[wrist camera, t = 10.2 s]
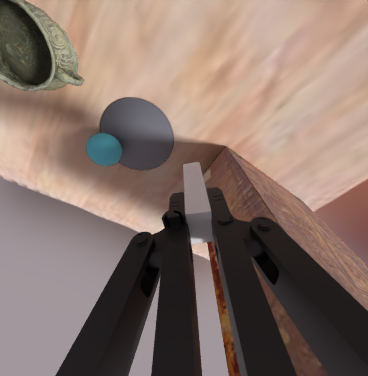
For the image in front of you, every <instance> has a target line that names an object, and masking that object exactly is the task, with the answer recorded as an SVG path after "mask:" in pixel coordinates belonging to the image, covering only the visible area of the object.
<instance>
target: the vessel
mask: <svg viewBox="0 0 368 376" xmlns="http://www.w3.org/2000/svg"><path fill="white" fill-rule="evenodd" d="M77 71H78V60H77V55H76V52H75V49H74V46H73V44H72V42H71V41H70V39H69V37H68V36H67V34H66V33H65V31H64V30H63V29H62V28H61V27H60V26H59V25H58V24H57V23H56V22H54V21H53V20H52V19H51V18H50V17H49V16H48V15H47V14H46V13H45V12H44V11H43V10H41V9H40V8H38V7H36V6H34V5H32V4H30V3H28V2H27V1H25V0H0V79H1V80H2V81H4V82H5V83H7V84H9V85H11V86H13V87H16V88H18V89H21V90H24V91H37V90H52V91H53V90H56V89H59V88H61V87H64V86H66V85H67V84H72V85H76V86H80V85H82V84H83V82H84V79H83V78H82V77H80V76H79V75H77Z"/></svg>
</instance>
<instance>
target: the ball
mask: <svg viewBox="0 0 368 376" xmlns="http://www.w3.org/2000/svg"><path fill="white" fill-rule="evenodd" d="M86 150H87V154H88V156H89V157H90V159H91V160H92V161H93V162H95V163H97V164H99V165H102V166H110V165H113V164H115V163H116V162H118V161H119V159H120V158H121V155H122V147H121V144H120V142H119V141H118V140H117V139H116V138H115V137H114V136H112V135H110V134H107V133H98V134H95V135H93V136H92V137H90V139H89V140H88V142H87V145H86Z"/></svg>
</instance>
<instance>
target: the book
mask: <svg viewBox="0 0 368 376" xmlns="http://www.w3.org/2000/svg"><path fill="white" fill-rule="evenodd" d="M202 175H203V179H204V183H205V187H206V188H213V187H218V188H220V189H221V190H222V192H223V195H224V197H225V200H226V202H227V205H228V208H229V210H230V213H231V215H232V216H234V218H236V219H238V220H241V221H248V222H251V221H252V219H254V218H256V217H267V218H270V219H272V220H273V221H274V222H275V223H277V224H278V225H279V226H280V227H281V228H282V229H283V230H284V231H285V232H286V233H287V234H288V235H289V236H290V237H291V238H292V239H293V240H294V241H295V242H296V243H297V244H298V245H300V246H301V247H302V248H303V249H304V250H305V251H306V252H307V253H308V254H309V255H310V256H311V257H312V258H313V259H314V260H315V261H316V262H317V263H318V264H319V265H320V266H321V267H323V268H324V269H325V270H326V271H327V272H328V273H329V274H330V275H331V276H332V277H333V278H334V279H335V280H336V281H337V282H338V283H339V284H340V285H341V286H342V287H343V288H344V289H345V290H347V291H348V292H349V293H350V294H351V295H352V296H353V297H354V298H355V299H356V300H357V301H358V302H359V303H360V304H361V305H362V306H363V307H364V308H365V309H366V310H367V311H368V266H367V265H366V264H365V263H364V262H363V261H362V260H361V259H360V258H359V257H358V256H357V255H356V254H355V253H354V252H353V251H352V250H351V249H350V248H349V247H347V245H346V244H345V243H344V242H343V241H342V240H341V239H340V238H339V237H338V236H337V235H336V234H335V233H334V232H332V230H331V229H330V228H329V227H328V226H326V224H325V223H324V222H323V221H322V220H320V218H318V216H317V215H316V214H314V212H313V211H312V210H311V209H310V208H309V207H308V206H307V205H306V204H305V203H304V202H303V201H301V200H300V199H299V198H297V197H296V196H295V195H293V194H292V193H290V192H289V191H288V190H286V189H285V188H283V187H282V186H281V185H279V184H278V183H277V182H275V181H274V180H272V179H271V178H270V177H268V176H267V175H265V174H264V173H263V172H261V171H260V170H259V169H257V168H256V167H254V166H253V165H252V164H250V163H249V162H248V161H246V160H245V159H243V158H242V157H241V156H239V155H238V154H236V153H235V152H234V151H232V150H231V149H230V148H228V147H227V146H226V147H225V148H224V149H223V151H222V152H221V153H220V154H219V155H218V157H217V158H216V159H215V160H214V161H213V163H212V164H211V165H210V166H209V167H208V168H207V170H206V171H205V172H204V173H203V174H202ZM207 244H208V250H209V256H210V262H211V268H212V274H213V281H214V287H215V293H216V299H217V305H218V311H219V318H220V323H221V329H222V336H223V342H224V348H225V354H226V360H227V366H228V372H229V376H241V375H240V370H239V365H238V360H237V355H236V350H235V345H234V340H233V336H232V331H231V326H230V321H229V316H228V311H227V306H226V301H225V296H224V291H223V287H222V282H221V277H220V272H219V267H218V262H217V257H216V256H215V245H214V241H212V242H207ZM253 265H254V264H253ZM254 268H255V270H256V273H257V275H258V278H259V280H260V283H261V285H262V288H263V290H264V293H265V295H266V298H267V300H268V303H269V306H270V308H271V311H272V313H273V316H274V318H275V321H276V323H277V326H278V328H279V331H280V333H281V336H282V339H283V341H284V344H285V346H286V349H287V351H288V354H289V356H290V359H291V361H292V364H293V366H294V369H295V372H296V374H297V376H329V375H328V373H327V372H326V370H325V369H324V367H323V366H322V364H321V363H320V361H319V360H318V358H317V357H316V355H315V354H314V352H313V351H312V350H311V348H310V347H309V345H308V344H307V342H306V341H305V339H304V338H303V336H302V335H301V333H300V332H299V330H298V329H297V327H296V326H295V324H294V323H293V321H292V320H291V318H290V317H289V316H288V314H287V313H286V311H285V310H284V308H283V307H282V305H281V304H280V302H279V301H278V299H277V298H276V296H275V295H274V293H273V292H272V290H271V289H270V287H269V286H268V284H267V283H266V282H265V280H264V279H263V277H262V276H261V274H260V273H259V271H258V270H257V268H256V267H255V265H254Z"/></svg>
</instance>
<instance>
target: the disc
mask: <svg viewBox="0 0 368 376" xmlns="http://www.w3.org/2000/svg"><path fill="white" fill-rule="evenodd" d="M100 133H107V134H110V135H112V136H114V137H115V138H116V139H117V140H118V141H119V142H120V144H121V147H122V155H121V158H120V159H119V161H118V162H119V163H121V164H122V165H124V166H126V167H129V168H131V169H135V170H149V169H153V168H156V167H158V166H160V165H161V164H162V163H164V162H165V161H166V159H167V158H168V157H169V155H170V153H171V151H172V148H173V131H172V127H171V125H170V122H169V120H168V119H167V117H166V116H165V114H164V113H163V112H162V111H161V110H160V109H159V108H158V107H157V106H155V105H154V104H152V103H150V102H148V101H146V100H143V99H140V98H124V99H120V100H118V101H116V102H114V103H112V104H111V105H110V106H109V107H108V108H107V109H106V111H105V112H104V114H103V116H102V119H101V124H100Z"/></svg>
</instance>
